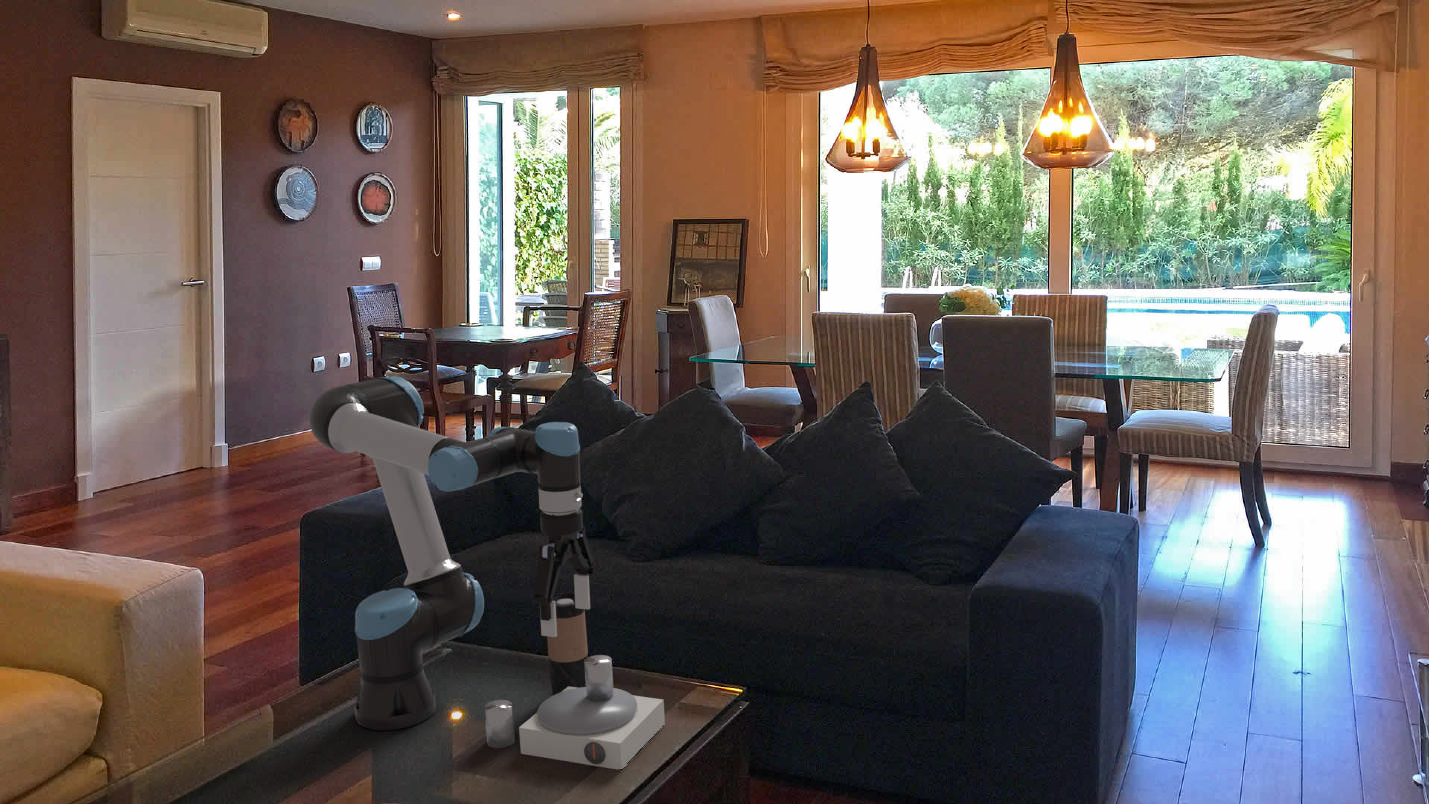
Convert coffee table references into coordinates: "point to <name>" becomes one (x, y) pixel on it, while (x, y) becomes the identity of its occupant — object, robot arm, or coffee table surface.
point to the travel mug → (568, 645)
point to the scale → (592, 728)
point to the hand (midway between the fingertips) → (566, 621)
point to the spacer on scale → (599, 678)
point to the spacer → (499, 723)
